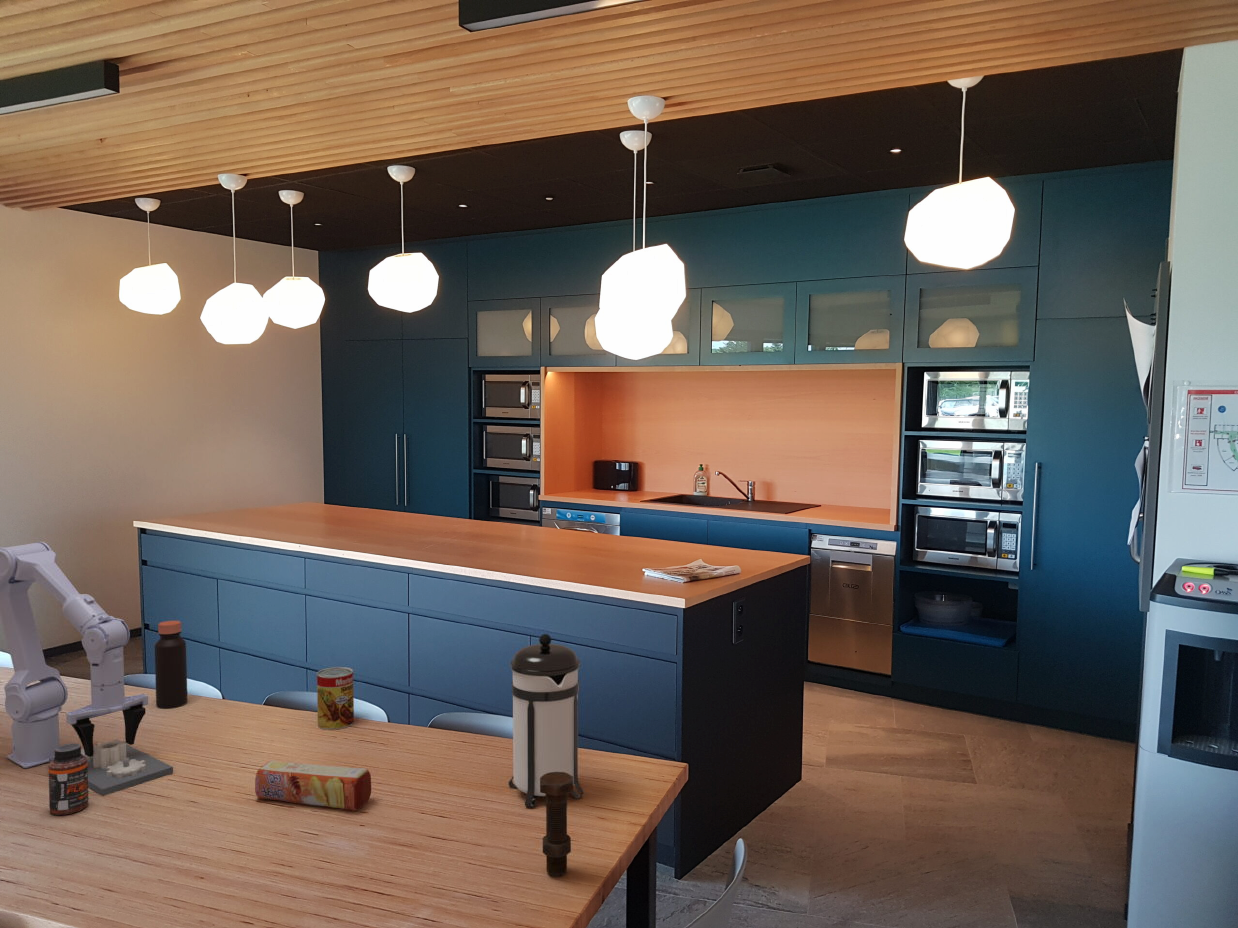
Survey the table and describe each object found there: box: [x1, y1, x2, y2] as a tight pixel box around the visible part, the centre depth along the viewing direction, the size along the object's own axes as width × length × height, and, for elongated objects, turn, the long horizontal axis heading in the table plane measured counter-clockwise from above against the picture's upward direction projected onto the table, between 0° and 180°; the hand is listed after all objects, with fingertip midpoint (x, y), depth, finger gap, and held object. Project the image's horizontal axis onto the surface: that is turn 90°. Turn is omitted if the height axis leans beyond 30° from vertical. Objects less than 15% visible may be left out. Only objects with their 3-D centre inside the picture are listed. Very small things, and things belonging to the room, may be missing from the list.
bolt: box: [540, 772, 574, 878], centre depth 136 cm, size 6×5×15 cm
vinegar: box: [154, 620, 189, 709], centre depth 214 cm, size 7×7×20 cm
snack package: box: [254, 760, 372, 812], centre depth 161 cm, size 21×7×7 cm, turn 75°
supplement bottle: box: [48, 742, 89, 816], centre depth 158 cm, size 6×6×11 cm
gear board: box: [48, 739, 174, 796], centre depth 176 cm, size 24×13×5 cm, turn 53°
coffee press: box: [508, 633, 585, 809], centre depth 165 cm, size 17×16×30 cm
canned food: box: [316, 666, 355, 731], centre depth 201 cm, size 8×8×12 cm
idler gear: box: [93, 739, 127, 769], centre depth 175 cm, size 6×6×4 cm
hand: (109, 749), depth 175 cm, fingers open, 7 cm apart
